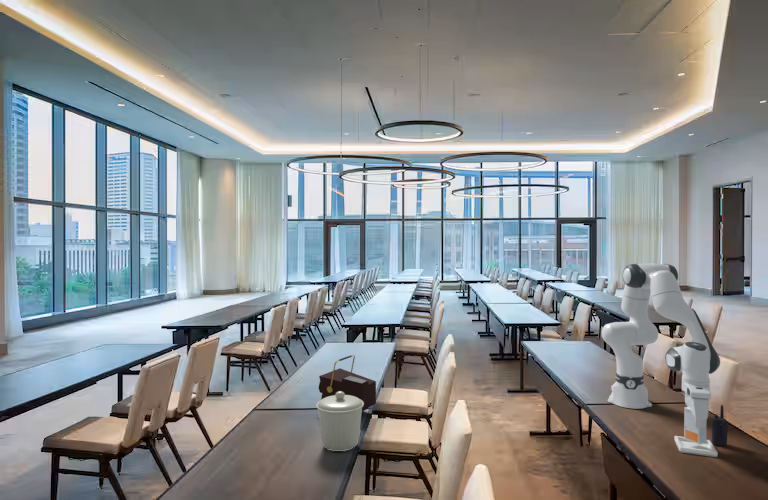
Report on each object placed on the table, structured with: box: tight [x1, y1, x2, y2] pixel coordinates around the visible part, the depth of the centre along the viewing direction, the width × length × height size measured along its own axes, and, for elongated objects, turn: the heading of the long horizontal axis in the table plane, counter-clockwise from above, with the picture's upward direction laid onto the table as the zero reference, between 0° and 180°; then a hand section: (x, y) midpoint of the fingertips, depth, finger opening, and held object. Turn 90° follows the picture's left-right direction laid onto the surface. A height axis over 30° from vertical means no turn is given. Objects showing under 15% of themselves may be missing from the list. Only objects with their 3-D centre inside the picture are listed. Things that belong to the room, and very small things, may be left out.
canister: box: [315, 391, 364, 450], centre depth 188 cm, size 18×18×21 cm
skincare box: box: [683, 406, 708, 444], centre depth 184 cm, size 6×4×12 cm
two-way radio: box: [711, 404, 729, 446], centre depth 186 cm, size 6×4×15 cm
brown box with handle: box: [318, 354, 377, 413], centre depth 225 cm, size 16×23×25 cm
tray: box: [673, 435, 719, 458], centre depth 184 cm, size 12×12×2 cm
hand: (695, 423), depth 184 cm, fingers closed on skincare box, 7 cm apart
